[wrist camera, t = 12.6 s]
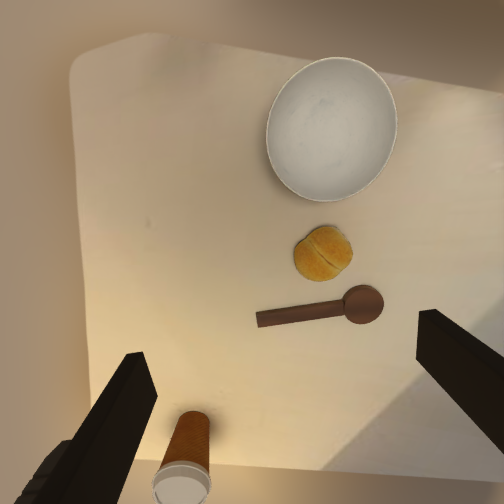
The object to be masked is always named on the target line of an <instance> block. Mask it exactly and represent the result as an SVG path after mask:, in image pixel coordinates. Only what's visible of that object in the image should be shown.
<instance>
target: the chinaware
mask: <svg viewBox="0 0 504 504" xmlns="http://www.w3.org/2000/svg"><path fill="white" fill-rule="evenodd" d="M396 135H397V111H396V106H395V102H394V99H393V96H392V93H391V91H390V89H389V87H388V86H387V84H386V83H385V81H384V80H383V78H382V77H381V76H380V75H379V74H378V73H377V72H376V71H375V70H373V69H372V68H371V67H369V66H368V65H366V64H364V63H362V62H360V61H357V60H354V59H351V58H345V57H331V58H324V59H320V60H317V61H315V62H312V63H310V64H308V65H306V66H305V67H303V68H301V69H300V70H299V71H297V72H296V73H295V74H294V75H293V76H291V77H290V78H289V79H288V81H287V82H286V83H285V84H284V85H283V87H282V88H281V89H280V91H279V92H278V94H277V96H276V98H275V100H274V102H273V104H272V106H271V109H270V112H269V116H268V120H267V126H266V147H267V152H268V156H269V160H270V163H271V165H272V167H273V169H274V171H275V173H276V175H277V176H278V178H279V179H280V180H281V181H282V183H283V184H284V185H285V186H286V187H287V188H289V189H290V190H291V191H292V192H294V193H295V194H297V195H299V196H301V197H303V198H306V199H309V200H312V201H318V202H333V201H339V200H343V199H346V198H349V197H351V196H353V195H355V194H357V193H359V192H360V191H362V190H363V189H365V188H366V187H367V186H369V185H370V184H371V183H372V182H373V181H374V180H375V179H376V178H377V177H378V175H379V174H380V173H381V172H382V170H383V169H384V167H385V166H386V164H387V162H388V160H389V158H390V156H391V153H392V151H393V148H394V144H395V140H396Z"/></svg>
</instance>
